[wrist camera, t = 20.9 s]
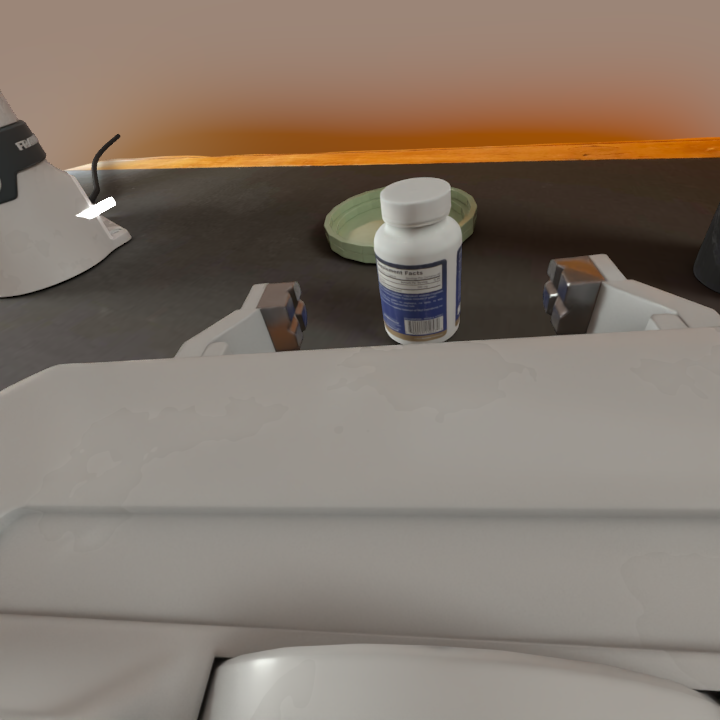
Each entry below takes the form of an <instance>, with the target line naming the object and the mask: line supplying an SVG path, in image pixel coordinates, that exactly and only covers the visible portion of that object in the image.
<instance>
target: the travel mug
mask: <svg viewBox="0 0 720 720" xmlns="http://www.w3.org/2000/svg"><path fill="white" fill-rule="evenodd" d="M693 271H694V274H695V276H696V278H697V279H698V280H699V281H700V282H701V283H703V284H704V285H705V286H707V287H708V288H710V289H712V290H714V291H716V292H718V293H720V203H719V205H718V208H717V210H716V212H715V215H714V217H713V219H712V222H711V224H710V227H709V229H708V231H707V234H706V236H705V238H704V241H703V243H702V245H701V248H700V250H699V253H698V255H697V258H696V260H695V263H694V268H693Z"/></svg>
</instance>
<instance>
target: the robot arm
mask: <svg viewBox="0 0 720 720" xmlns="http://www.w3.org/2000/svg"><path fill="white" fill-rule="evenodd" d="M119 138H120V135H119V134H117V135H116V136H115V137H113V138H112V139H111V140H110V141H109V142H107V143H106V144H105V145H104V146H103V147H102V148H101V149H100V150H99V151H98V153H97V154H96V155H95V157H94V159H93V162H92V178H93V186H94V190H93V192H92V193H91V195H90V197H89V198H88V197H87V195H86V194H85V192H84V190H83V189H82V187H81V185H80V184H79V182H78V181H77V179H76V178H75V176H73V175H69V174H68V173H67V172H65V171H62V170H60V169H58V168H56V167H54V166H53V165H52V164H50V163H49V162H48V161H47V160H46V159H45V157H46V153H45V152H44V150H43V149H42V147H41V146H40V144H39V142H38V139H37V137H36V136H35V134H34V133H32V132H31V130H30V129H29V128H28V126H27V125H26V123H25V122H24V121H22V120H18V118H17V117H16V115H15V114H14V112H13V110H12V109H11V107H10V105H9V104H8V102H7V101H6V99H5V97H4V96H3V94H2V93H1V91H0V297H10V296H17V295H22V294H26V293H30V292H34V291H37V290H41V289H44V288H47V287H50V286H52V285H55V284H58V283H60V282H63V281H65V280H67V279H70V278H72V277H74V276H76V275H78V274H80V273H82V272H84V271H86V270H88V269H89V268H91V267H93V266H94V265H96V264H97V263H99V262H100V261H101V260H103V259H104V258H105V257H106V256H107V255H108V254H109V253H111V252H112V251H113V250H114V249H115V248H117V247H119V246H121V245H122V244H124V243H126V242H127V241H129V240H130V239H131V238H132V237H131V235H130V234H129V233H128V231H127V230H126V229H124V228H122V227H120V226H119V225H117V224H115V223H114V222H112V221H110V220H108V219H107V218H105V217H103V216H101V215H100V213H102V212H104V211H105V210H107V209H109V208H111V207H113V206H114V205H116V203H115V202H114V200H113V198H112V197H109V198H107V199H105V200H103V201H101V202H100V203H98V204H96V205H94V204H93V202H94V201H95V199H96V197H97V196H98V194H99V192H100V188H99V183H98V177H97V163H98V160H99V158H100V156H101V155H102V154H103V153H104V151H105V150H106V149H107V148H108V147H109V146H110V145H112V144H113V143H114V142H115V141H116V140H117V139H119ZM547 274H548V275H549V277H550V280H549V281H548V282H547V283H546V284H545V285H544V291H543V304H544V309H545V311H546V313H547V314H549V315H551V316H552V317H551V321H550V322H551V324H552V326H553V328H554V330H555V332H556V334H557V335H560V336H543V337H526V338H509V339H492V340H475V341H458V342H441V343H424V344H406V345H389V346H372V347H355V348H338V349H320V350H303V351H293V350H300V347H301V344H302V340H303V335H302V332H303V331H304V330H305V329H306V326H307V311H306V307H305V303H304V302H302V301H301V300H300V296H301V293H302V292H301V289H300V286H299V284H298V283H297V281H295V282H281V283H264V284H256V285H253V287H252V289H251V291H250V293H249V295H248V296H247V298H246V300H245V302H244V304H243V306H242V308H241V310H236V311H234V312H233V313H231V314H229V315H228V316H226V317H225V318H223V319H221V320H220V321H218V322H217V323H215V324H214V325H212V326H210V327H209V328H207V329H206V330H204V331H202V332H201V333H199V334H198V335H196V336H194V337H193V338H191V339H190V340H188V341H186V342H185V343H183V345H182V346H181V348H180V349H179V351H178V352H177V354H176V356H175V357H174V358H167V359H150V360H133V361H116V362H98V363H74V364H61V365H56V366H53V367H50V368H48V369H45V370H43V371H41V372H39V373H36V374H34V375H32V376H30V377H28V378H26V379H24V380H22V381H20V382H18V383H16V384H14V385H12V386H10V387H8V388H6V389H4V390H2V391H0V720H720V315H719V314H718V313H717V312H716V311H715V310H714V309H711V308H708V307H706V306H703V305H700V304H697V303H695V302H692V301H689V300H687V299H684V298H681V297H678V296H676V295H673V294H670V293H668V292H665V291H662V290H659V289H657V288H654V287H651V286H649V285H646V284H643V283H640V282H638V281H635V280H627V279H626V278H625V277H624V276H623V274H622V273H621V272H620V271H619V269H618V268H617V267H616V266H615V265H614V263H613V262H612V261H611V260H610V258H609V257H608V256H607V255H605V254H598V255H590V256H579V257H570V258H561V259H553V260H550V263H549V265H548V270H547ZM565 334H577V335H565ZM281 351H286V352H281Z"/></svg>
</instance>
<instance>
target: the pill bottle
mask: <svg viewBox="0 0 720 720" xmlns="http://www.w3.org/2000/svg"><path fill="white" fill-rule="evenodd" d="M380 202H381V211H382V219H383V220H384V222H385V223H384V224H382V225H381V227H380V228H379V229H378V230H377V232H376V234H375V237H374V252H375V258H376V265H377V272H378V280H379V289H380V296H381V303H382V310H383V318H384V323H385V329H386V331H387V333H388V335H389V336H390V337H391V338H392V339H393V340H395V341H397V342H398V343H401V344H403V345H406V344H424V343H441V342H444V341H446V340H447V339H449V338H450V337H451V336H452V335H453V334H454V333H455V332H456V330H457V329H458V326H459V321H460V293H461V259H462V232H461V228H460V226H459V224H458V223H457V222H456V221H455V220H454V219H453V218H451V217H450V216H448V215H449V213H450V209H451V187H450V184H449V183H448V182H446V181H444V180H441V179H438V178H411V179H406V180H402V181H399V182H396V183H393V184H390V185H389V186H387V187H386V188H384V189H383V190H382V191H381V194H380Z"/></svg>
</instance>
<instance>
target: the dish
mask: <svg viewBox="0 0 720 720" xmlns="http://www.w3.org/2000/svg"><path fill="white" fill-rule="evenodd" d="M384 188H386V187H383V188H379V189H375V190H371V191H367V192H364V193H362V194H359V195H356V196H354V197H351V198H349V199H347V200H346V201H344V202H342V203H340V204H339V205H337V206H335V207H334V208H333V209H332V210H331V212H330V213H329V214H328V215H327V216H326V219H325V223H324V229H325V234H326V238H327V241H328V243H329V245H330V247H331V249H332V250H333V251H334V252H336V253H338V254H339V255H341V256H342V257H344V258H348V259H352V260H356V261H360V262H364V263H376V258H375V252H374V237H375V234H376V232H377V230H378V229H379V228H380V227H381V225H382V224H384V223H385V222H384V220H383V219H382V211H381V202H380V194H381V191H382V190H383V189H384ZM448 216H450V217H451V218H453V219H454V220H455V221H456V222H457V223H458V224H459V226H460V228H461V232H462V243H463V242H464V241H465V240H466V239H467V238H468V237H469V236H470V235H471V234H472V233H473V230H474V227H475V225H476V217H477V205H476V203H475V201H474V199H473V197H472V196H470V195H469V194H467V193H466V192H464V191H463V190H460V189H456V188H453V187H451V209H450V213H449V215H448Z"/></svg>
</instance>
